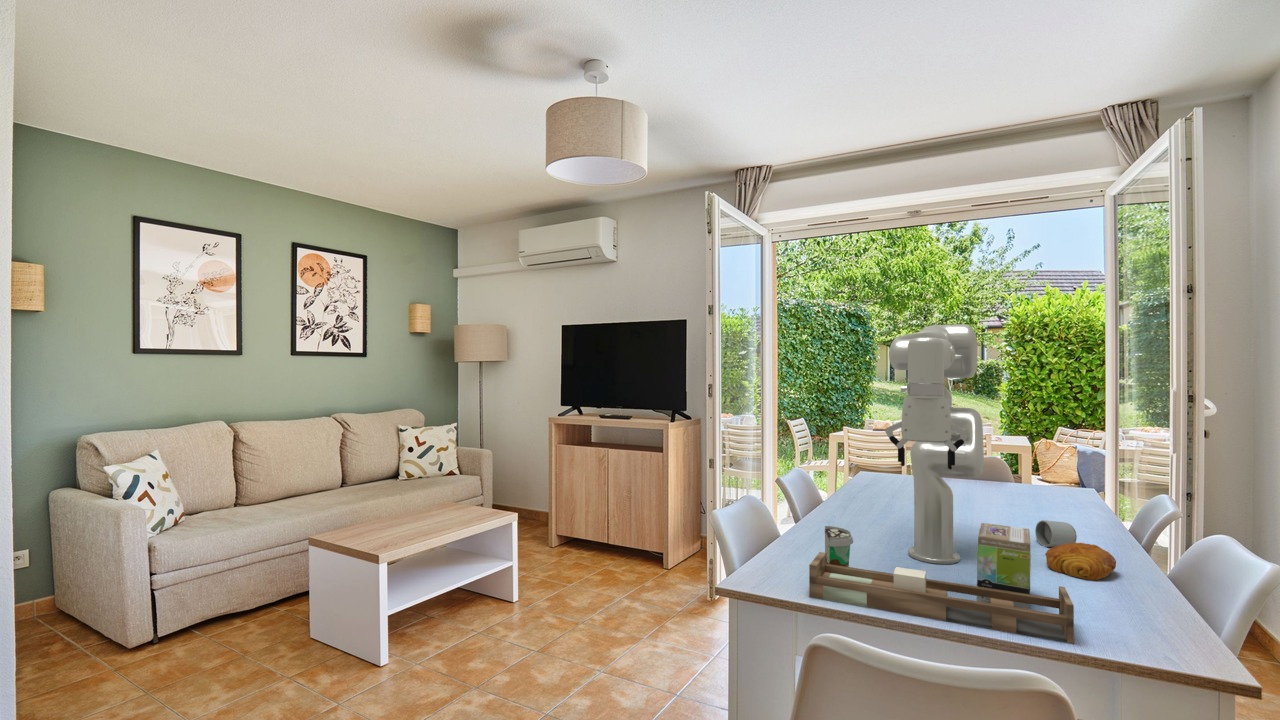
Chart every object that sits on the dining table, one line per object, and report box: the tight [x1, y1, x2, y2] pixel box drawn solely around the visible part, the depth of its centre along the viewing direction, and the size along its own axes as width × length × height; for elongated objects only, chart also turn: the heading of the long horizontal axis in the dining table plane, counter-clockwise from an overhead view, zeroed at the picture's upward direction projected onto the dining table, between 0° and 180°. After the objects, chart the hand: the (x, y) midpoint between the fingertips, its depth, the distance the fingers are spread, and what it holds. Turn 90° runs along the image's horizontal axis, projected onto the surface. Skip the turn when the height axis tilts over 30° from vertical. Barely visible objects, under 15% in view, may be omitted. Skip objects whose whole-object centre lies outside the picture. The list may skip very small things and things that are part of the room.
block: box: [893, 566, 927, 593], centre depth 129 cm, size 5×6×4 cm
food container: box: [824, 525, 854, 567], centre depth 150 cm, size 12×6×10 cm, turn 168°
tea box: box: [976, 522, 1032, 610], centre depth 134 cm, size 15×10×15 cm
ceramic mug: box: [1034, 519, 1078, 548], centre depth 176 cm, size 10×8×7 cm
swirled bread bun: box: [1045, 542, 1117, 581], centre depth 153 cm, size 14×16×8 cm
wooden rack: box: [808, 551, 1075, 645], centre depth 127 cm, size 11×48×7 cm, turn 62°
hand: (925, 466), depth 137 cm, fingers open, 9 cm apart
